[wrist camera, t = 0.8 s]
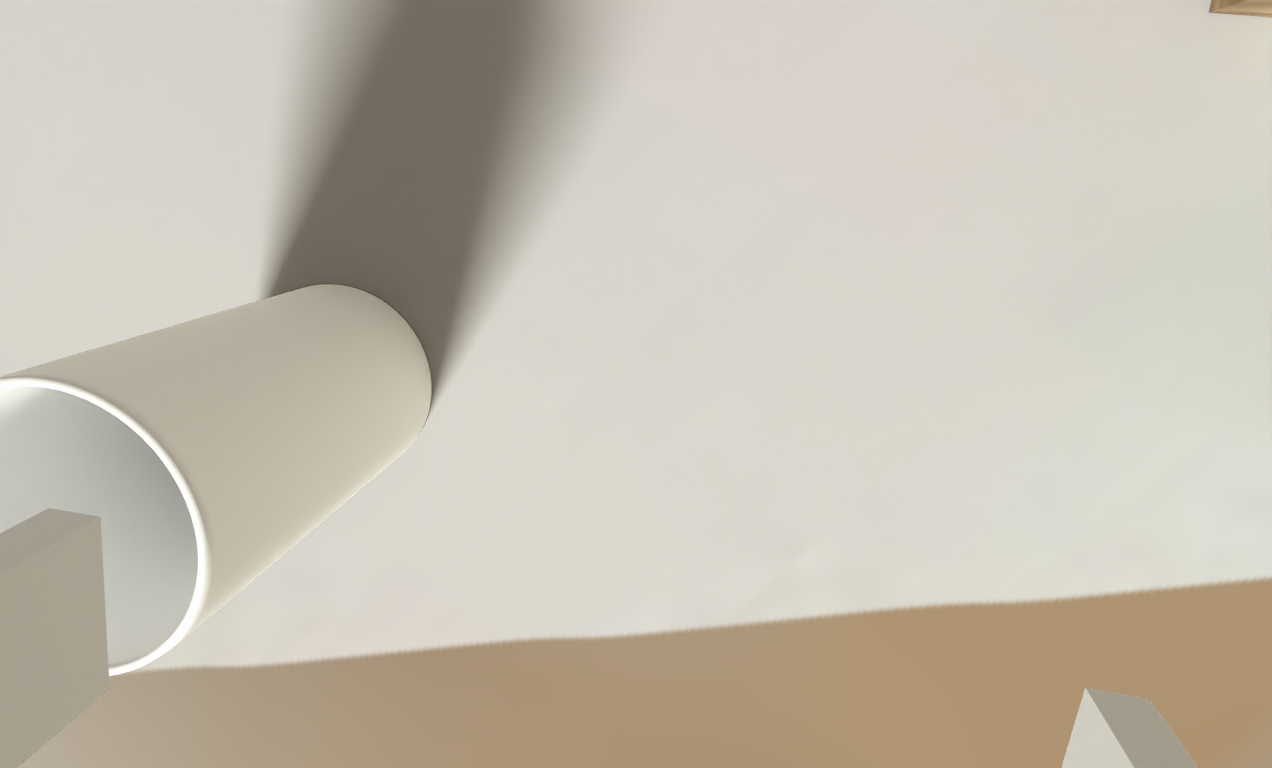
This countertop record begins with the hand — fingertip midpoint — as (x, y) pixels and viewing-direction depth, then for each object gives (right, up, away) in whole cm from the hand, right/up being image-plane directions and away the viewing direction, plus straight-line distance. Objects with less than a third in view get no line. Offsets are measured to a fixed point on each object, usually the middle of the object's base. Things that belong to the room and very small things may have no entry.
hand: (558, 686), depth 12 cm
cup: (-12, +4, +26) cm, 29 cm away
